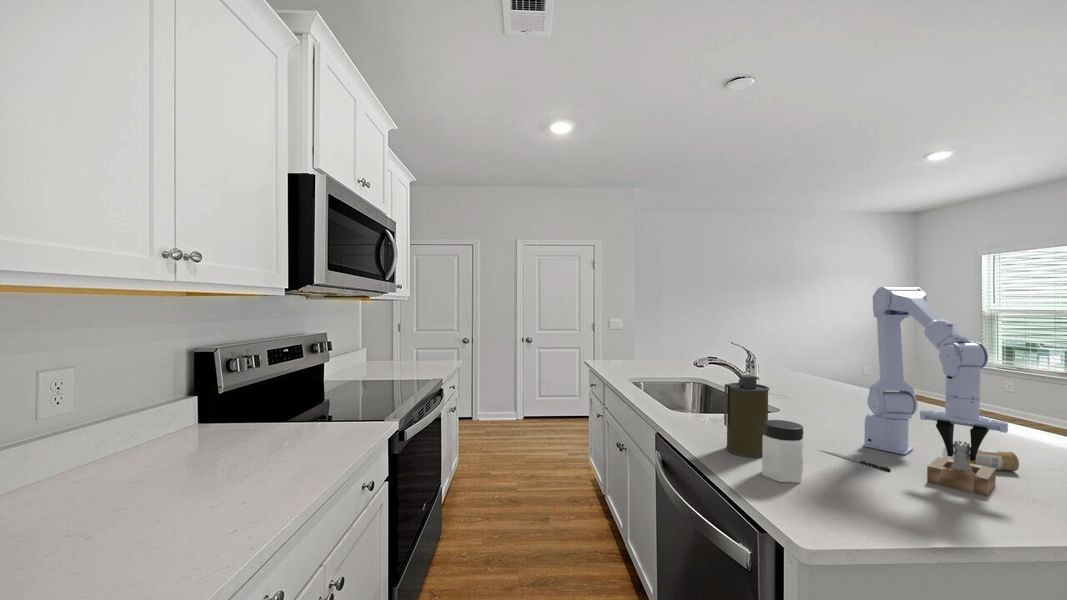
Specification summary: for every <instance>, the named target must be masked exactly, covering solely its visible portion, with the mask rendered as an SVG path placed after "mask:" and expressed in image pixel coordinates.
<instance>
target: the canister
mask: <svg viewBox="0 0 1067 600" xmlns="http://www.w3.org/2000/svg"><path fill="white" fill-rule="evenodd" d="M757 380H759V381H760V378H759V377H758V376H754V375H739V379H738V382H729V383H725V384H724V392H723V393H724V394H723V395H724V405H723V409H724V414H723V416H724V417H723V418H724V420H723V422H724V423H723V425H724V426H725V427H726V446H725V450H726V451H727V452H728V453H729V454H732V455H735V456H739V457H744V458H753V459H754V458H755V459H758V458H760V459H761V458H762V446H763V434H764V433H763V423H764V422H765V421H767V420H769V391H770V387H769V386H767V385H763V384H758V383H757Z"/></svg>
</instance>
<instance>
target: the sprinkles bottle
mask: <svg viewBox="0 0 1067 600" xmlns="http://www.w3.org/2000/svg"><path fill="white" fill-rule="evenodd" d="M953 448H954V447H953ZM954 451H955V449H954ZM941 454H942V458H946V459H951V460H954V457H955V454H954V453H953V456H952V457H950V456H947V450H946V446H945V447H944V448H943V449H942V453H941ZM969 454H970V451H969ZM969 463H971V464H976V465H981V466H986V467H991V468H996V471H997V470H998V471H1010V472H1016V471H1018V469H1019V467H1020V461H1019V458H1018V456H1017V454H1016V453H1014V452H1012V451H1000V450H999V451H996V450H990V449H989V450H987V449H978V452H977V455H976V460H975V461H970V456H969Z"/></svg>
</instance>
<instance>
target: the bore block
mask: <svg viewBox="0 0 1067 600" xmlns="http://www.w3.org/2000/svg"><path fill="white" fill-rule="evenodd" d="M953 462H954V460H951V459H946V458H943V457H940V456H936V458H935V459H934V460H932V461H931V462H930V463H929V464H928V465H927V468H926V470H927V471H926V473H927V476H926V482H927V481H928V483H931V482H932V483H931V484H936V485H941V486H945V487H948V488H953V489H956V490H960V491H965V492H969V493H974V494H978V495H982V496H987V497H989V495H990V494H991V492H992V490H993V488H994V487H995V486H996V476H997V475H996V472H997V470H996V468H991V467H986V466H981V465H976V464H971V463H970V467H971V469H972V471H973V472H974V473H970V472H965V471H960V470H956V469H951V468H950V467H952V466H951V465H953Z"/></svg>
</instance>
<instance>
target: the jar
mask: <svg viewBox="0 0 1067 600" xmlns="http://www.w3.org/2000/svg"><path fill="white" fill-rule="evenodd" d="M763 433H764V434H763V446H762V457H761V460H762V461H761V462H762V463H761V467H762V468H761V470H762V471H761V472H762V473H761V475H762V476H763V477H766V478H768V479H770V480H773V481H776V482H779V483H793V484H794V483H797V484H798V483H799V484H800V483H801V482H802V479H803V477H804V476H803V474H804V473H803V472H804V426H803V425H801V424H800V423H797V422H795V421H789V420H783V419H782V420H781V419H768V420H767V421H765V422H764V423H763Z"/></svg>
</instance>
